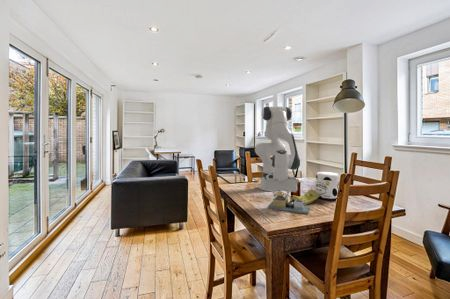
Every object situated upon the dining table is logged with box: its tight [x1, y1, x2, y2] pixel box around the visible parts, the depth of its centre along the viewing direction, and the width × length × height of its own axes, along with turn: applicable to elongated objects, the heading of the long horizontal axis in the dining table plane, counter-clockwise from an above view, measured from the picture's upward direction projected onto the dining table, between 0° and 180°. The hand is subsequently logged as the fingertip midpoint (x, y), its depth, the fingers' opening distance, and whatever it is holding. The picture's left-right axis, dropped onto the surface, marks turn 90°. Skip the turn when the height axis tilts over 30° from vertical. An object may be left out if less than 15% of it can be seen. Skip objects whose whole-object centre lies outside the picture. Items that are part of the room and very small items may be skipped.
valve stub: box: [276, 191, 285, 201], centre depth 156 cm, size 4×4×8 cm
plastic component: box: [289, 188, 319, 206], centre depth 168 cm, size 20×7×10 cm
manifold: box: [267, 196, 311, 215], centre depth 153 cm, size 12×24×6 cm, turn 65°
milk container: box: [313, 171, 340, 200], centre depth 178 cm, size 17×17×18 cm
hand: (280, 197), depth 155 cm, fingers open, 6 cm apart
